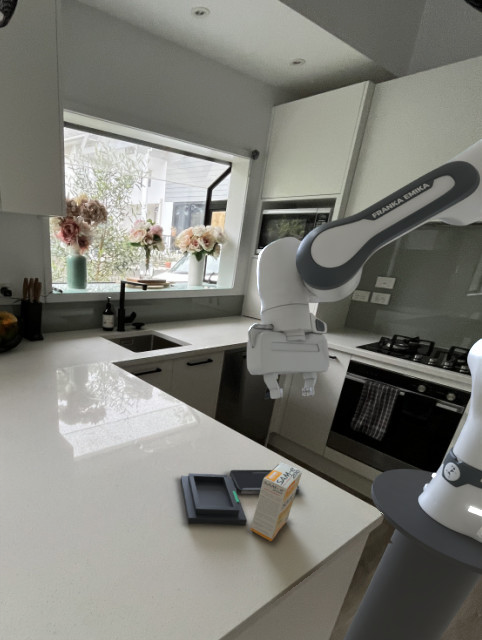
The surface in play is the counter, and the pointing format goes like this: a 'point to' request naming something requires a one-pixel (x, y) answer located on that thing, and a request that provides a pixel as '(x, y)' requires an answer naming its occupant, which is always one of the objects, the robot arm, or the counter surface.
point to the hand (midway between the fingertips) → (293, 397)
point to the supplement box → (275, 500)
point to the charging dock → (211, 500)
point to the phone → (249, 480)
